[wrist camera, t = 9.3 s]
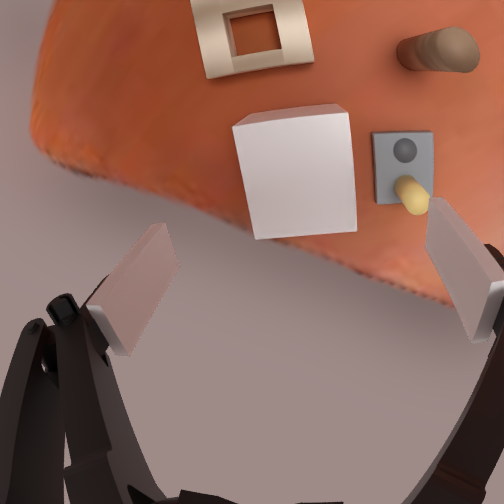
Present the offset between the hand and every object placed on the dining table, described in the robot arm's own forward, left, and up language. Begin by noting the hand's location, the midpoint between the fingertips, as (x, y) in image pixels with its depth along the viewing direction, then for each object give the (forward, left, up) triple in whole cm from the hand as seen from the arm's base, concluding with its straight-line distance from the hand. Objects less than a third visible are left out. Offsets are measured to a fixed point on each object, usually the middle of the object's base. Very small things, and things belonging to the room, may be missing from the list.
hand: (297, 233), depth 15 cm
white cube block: (0, 0, -16) cm, 16 cm away
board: (+2, +10, -16) cm, 19 cm away
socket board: (-15, -2, -16) cm, 22 cm away
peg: (-9, +12, -17) cm, 22 cm away
